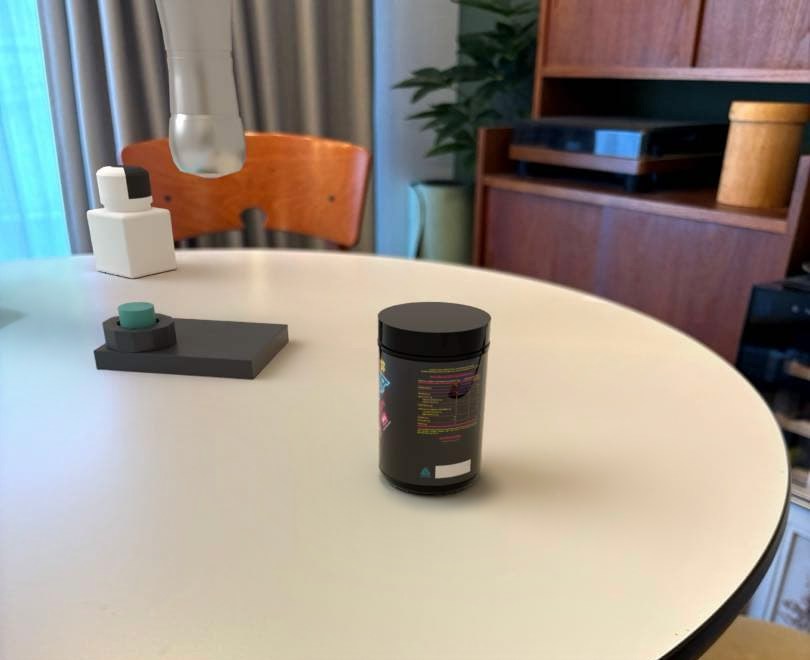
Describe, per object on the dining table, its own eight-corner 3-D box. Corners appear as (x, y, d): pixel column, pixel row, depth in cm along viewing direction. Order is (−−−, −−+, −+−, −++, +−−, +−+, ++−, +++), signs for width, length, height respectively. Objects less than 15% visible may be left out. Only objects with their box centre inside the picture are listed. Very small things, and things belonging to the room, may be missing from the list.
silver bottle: (220, 171, 77) (194, -99, 67) (264, 177, 72) (244, -110, 62) (158, 176, 73) (121, -110, 63) (201, 183, 68) (169, -122, 58)
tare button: (114, 330, 71) (111, 309, 70) (130, 320, 73) (127, 301, 72) (148, 332, 70) (144, 311, 69) (162, 322, 73) (159, 302, 72)
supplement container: (443, 446, 58) (448, 296, 53) (502, 483, 53) (515, 322, 48) (359, 467, 55) (356, 310, 50) (414, 509, 50) (417, 339, 45)
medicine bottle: (141, 261, 108) (127, 161, 102) (178, 269, 105) (165, 166, 99) (95, 271, 103) (77, 166, 97) (132, 279, 100) (115, 171, 94)
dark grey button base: (96, 369, 71) (89, 329, 69) (149, 333, 81) (144, 297, 79) (252, 380, 69) (249, 339, 68) (289, 341, 79) (286, 304, 77)
